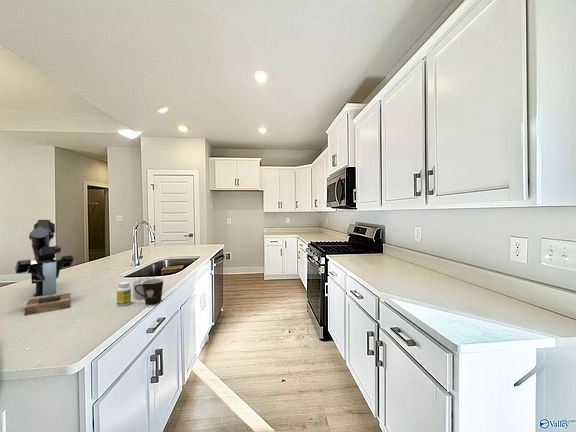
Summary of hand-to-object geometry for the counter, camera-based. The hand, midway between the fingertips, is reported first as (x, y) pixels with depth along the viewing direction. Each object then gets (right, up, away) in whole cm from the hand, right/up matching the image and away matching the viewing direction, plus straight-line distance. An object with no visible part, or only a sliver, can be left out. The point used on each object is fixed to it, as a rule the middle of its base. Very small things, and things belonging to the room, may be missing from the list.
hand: (50, 278), depth 113 cm
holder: (-1, -13, +1) cm, 13 cm away
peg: (-1, -7, +1) cm, 7 cm away
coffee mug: (+41, -13, +7) cm, 43 cm away
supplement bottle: (+30, -13, +4) cm, 33 cm away
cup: (+32, -13, +17) cm, 39 cm away
